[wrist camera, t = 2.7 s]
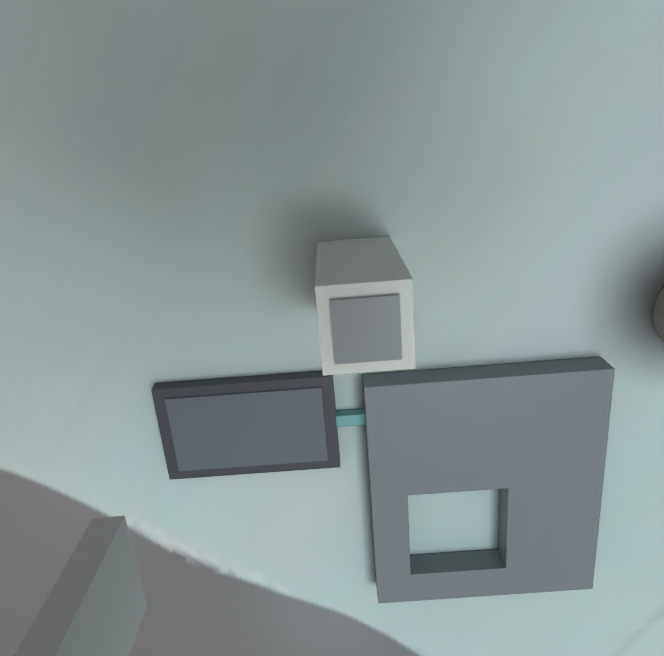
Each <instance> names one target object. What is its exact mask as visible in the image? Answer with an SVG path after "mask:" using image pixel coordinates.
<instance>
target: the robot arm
mask: <svg viewBox="0 0 664 656" xmlns="http://www.w3.org/2000/svg"><path fill="white" fill-rule="evenodd" d="M146 606H147V605H146V601H145V597H144V593H143V589H142V584H141V580H140V576H139V572H138V568H137V564H136V560H135V556H134V552H133V548H132V544H131V540H130V536H129V532H128V528H127V524H126V519H125V516H116V517H103V518H92V520H91V522H90V523H89V525H88V527H87V529H86V530H85V532H84V534H83V535H82V537H81V539H80V541H79V543H78V544H77V546H76V548H75V549H74V551H73V553H72V555H71V556H70V558H69V560H68V562H67V563H66V565H65V567H64V568H63V570H62V572H61V574H60V575H59V577H58V579H57V581H56V582H55V584H54V586H53V588H52V589H51V591H50V593H49V594H48V596H47V598H46V600H45V601H44V603H43V605H42V607H41V609H40V610H39V612H38V614H37V615H36V617H35V619H34V620H33V622H32V624H31V626H30V627H29V629H28V631H27V633H26V635H25V636H24V638H23V640H22V641H21V643H20V645H19V647H18V648H17V650H16V652H15V653H14V655H13V656H129V653H130V651H131V648H132V645H133V643H134V640H135V637H136V634H137V632H138V629H139V626H140V623H141V620H142V618H143V615H144V612H145V609H146Z"/></svg>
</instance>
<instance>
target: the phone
mask: <svg viewBox="0 0 664 656" xmlns="http://www.w3.org/2000/svg"><path fill="white" fill-rule="evenodd" d="M151 391H152V395H153V400H154V405H155V410H156V415H157V420H158V424H159V429H160V434H161V439H162V444H163V449H164V453H165V458H166V463H167V468H168V473H169V478H170V479H183V478H197V477H211V476H224V475H238V474H252V473H266V472H280V471H294V470H307V469H321V468H335V467H340V454H339V442H338V430H337V427H341V426H355V425H366V415H365V409H353V410H340V411H336V407H335V395H334V383H333V375H325V376H323V372H322V371H313V372H299V373H286V374H273V375H260V376H246V377H233V378H220V379H207V380H193V381H180V382H167V383H155V385H154V387H153V388H152V390H151Z"/></svg>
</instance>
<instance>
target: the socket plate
mask: <svg viewBox="0 0 664 656" xmlns="http://www.w3.org/2000/svg"><path fill="white" fill-rule="evenodd" d="M614 370H615V369H614V368H613V367H612V366H611V365H610V364H608V363H607V362H606V361H605V360H604V359H603V358H602V357H589V358H576V359H562V360H549V361H536V362H523V363H509V364H496V365H483V366H469V367H456V368H443V369H429V370H416V371H403V372H389V373H376V374H363V390H364V405H365V415H366V436H367V451H368V467H369V482H370V497H371V512H372V528H373V543H374V558H375V574H376V587H377V596H378V603H389V602H404V601H419V600H433V599H448V598H463V597H477V596H492V595H507V594H521V593H536V592H551V591H565V590H580V589H592V588H593V578H594V568H595V558H596V548H597V538H598V528H599V518H600V509H601V499H602V489H603V479H604V469H605V459H606V449H607V439H608V429H609V419H610V409H611V400H612V390H613V380H614ZM488 489H500V507H499V543H498V549H490V550H476V551H461V552H447V553H432V554H418V555H410V547H409V522H408V496H407V495H418V494H432V493H446V492H460V491H474V490H488Z"/></svg>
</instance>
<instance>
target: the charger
mask: <svg viewBox="0 0 664 656" xmlns="http://www.w3.org/2000/svg"><path fill="white" fill-rule="evenodd" d="M315 296H316V307H317V318H318V328H319V339H320V350H321V361H322V372H323V376H325V375H338V374H352V373H365V372H378V371H391V370H404V369H415V336H414V303H413V279H412V277H411V275H410V273H409V271H408V269H407V267H406V265H405V264H404V262H403V260H402V258H401V256H400V254H399V252H398V251H397V249H396V247H395V245H394V243H393V241H392V239H391V237H390V236H385V237H373V238H360V239H348V240H335V241H323V242H317V257H316V273H315Z"/></svg>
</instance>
